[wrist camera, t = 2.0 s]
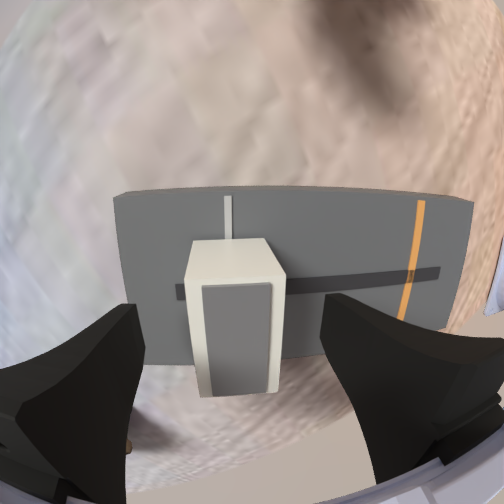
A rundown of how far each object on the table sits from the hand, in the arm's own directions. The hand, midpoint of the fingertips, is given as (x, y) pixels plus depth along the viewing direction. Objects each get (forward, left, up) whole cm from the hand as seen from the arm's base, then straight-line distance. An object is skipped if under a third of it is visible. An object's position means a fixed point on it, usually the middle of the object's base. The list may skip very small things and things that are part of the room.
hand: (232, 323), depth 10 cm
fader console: (-5, 0, -5) cm, 7 cm away
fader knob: (0, 0, -3) cm, 3 cm away
